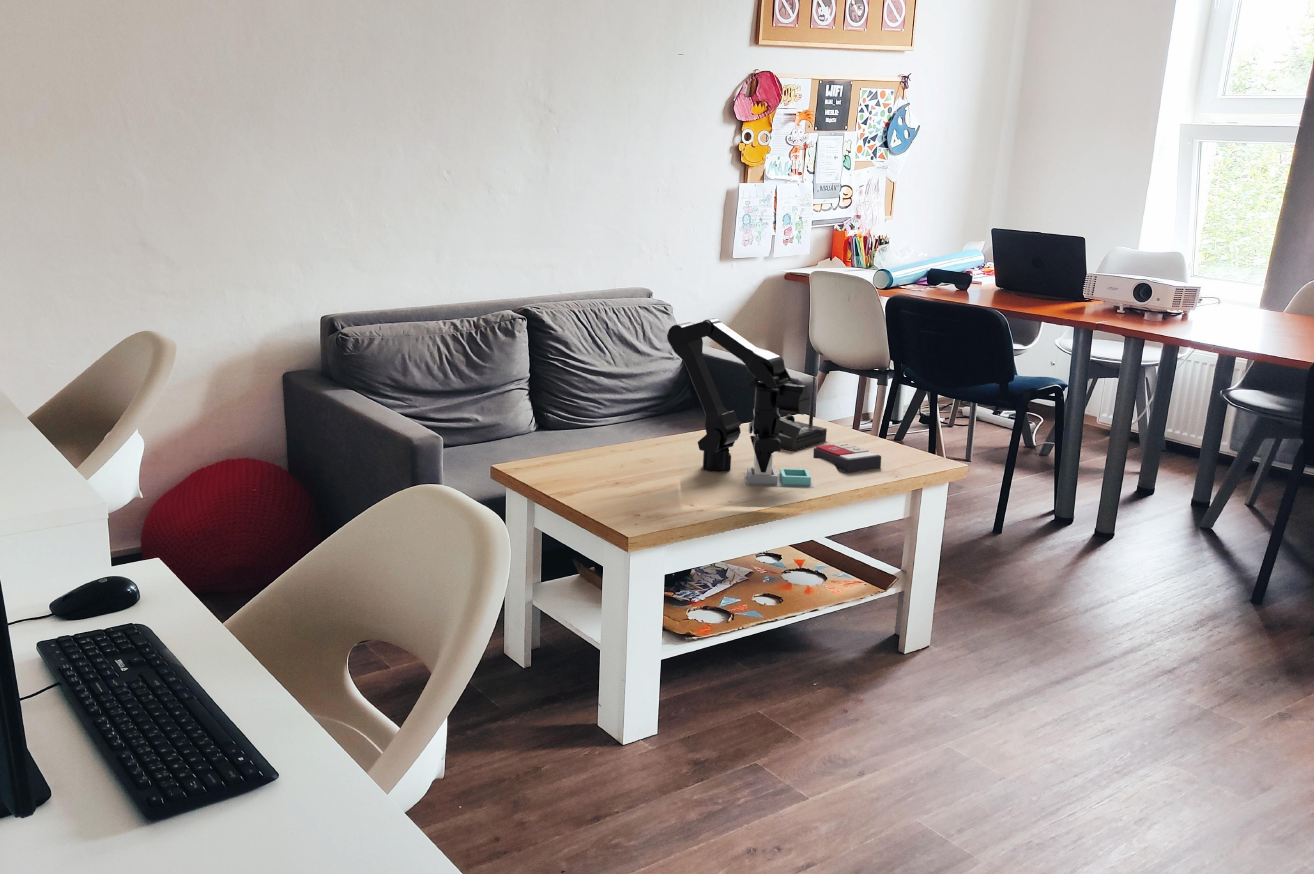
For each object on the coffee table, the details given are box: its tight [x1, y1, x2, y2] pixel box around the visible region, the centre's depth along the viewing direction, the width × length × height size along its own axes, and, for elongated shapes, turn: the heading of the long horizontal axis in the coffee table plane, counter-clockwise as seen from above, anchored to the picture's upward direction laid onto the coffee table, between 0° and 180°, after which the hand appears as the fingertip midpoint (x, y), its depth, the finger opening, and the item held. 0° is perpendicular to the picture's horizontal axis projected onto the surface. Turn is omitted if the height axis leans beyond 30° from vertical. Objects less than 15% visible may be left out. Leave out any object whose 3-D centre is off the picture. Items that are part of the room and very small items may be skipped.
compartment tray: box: [744, 466, 814, 489], centre depth 266 cm, size 16×10×3 cm, turn 90°
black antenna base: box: [772, 375, 828, 452], centre depth 303 cm, size 20×14×17 cm
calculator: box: [812, 442, 882, 474], centre depth 286 cm, size 11×4×15 cm
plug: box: [753, 452, 774, 475], centre depth 265 cm, size 4×4×7 cm
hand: (762, 469), depth 265 cm, fingers closed on plug, 4 cm apart
